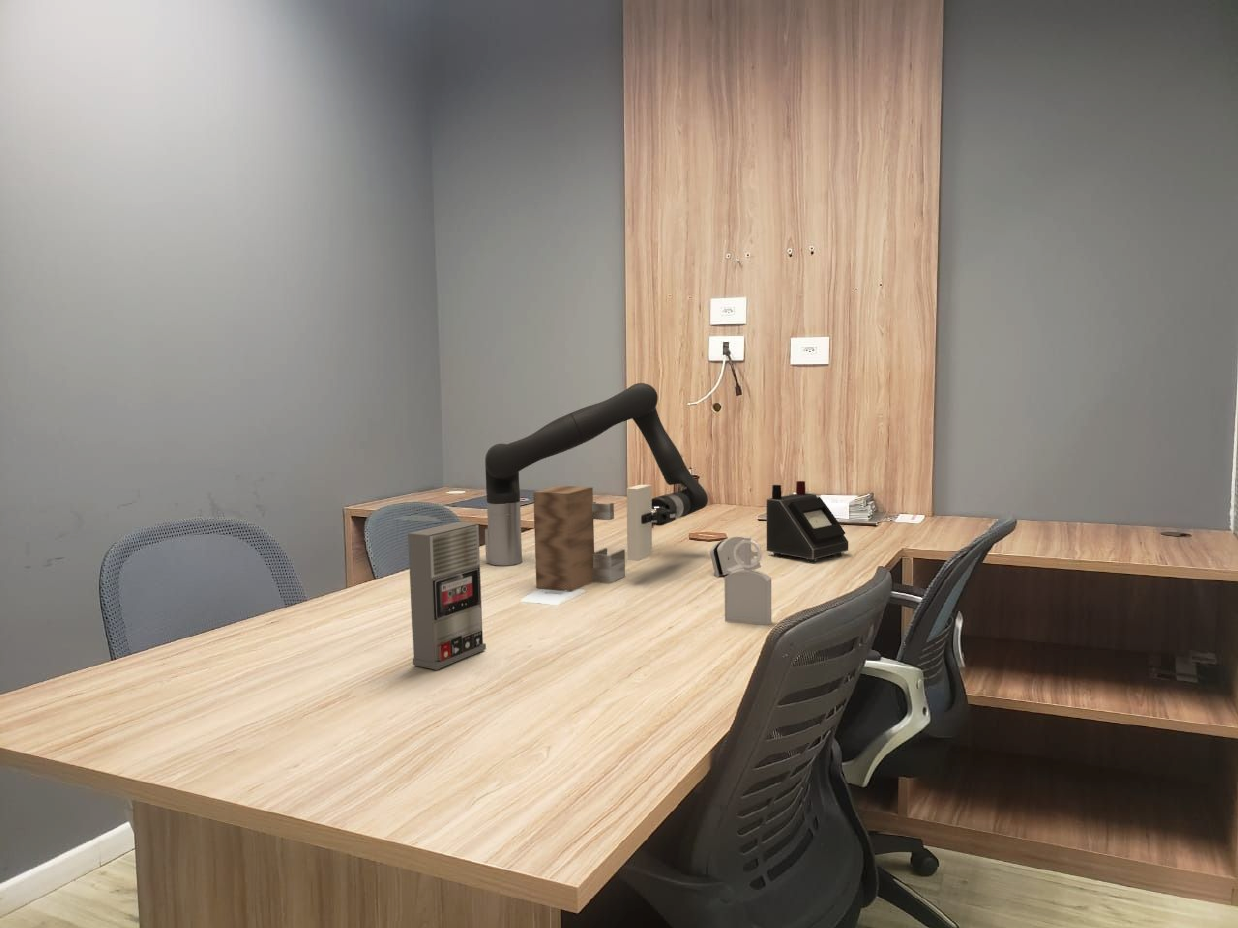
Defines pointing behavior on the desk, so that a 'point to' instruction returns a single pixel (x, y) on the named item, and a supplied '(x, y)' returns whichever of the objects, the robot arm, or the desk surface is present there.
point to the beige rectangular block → (638, 522)
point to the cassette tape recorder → (445, 594)
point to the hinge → (728, 556)
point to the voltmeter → (802, 526)
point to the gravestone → (748, 589)
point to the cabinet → (571, 540)
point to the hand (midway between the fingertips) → (636, 519)
